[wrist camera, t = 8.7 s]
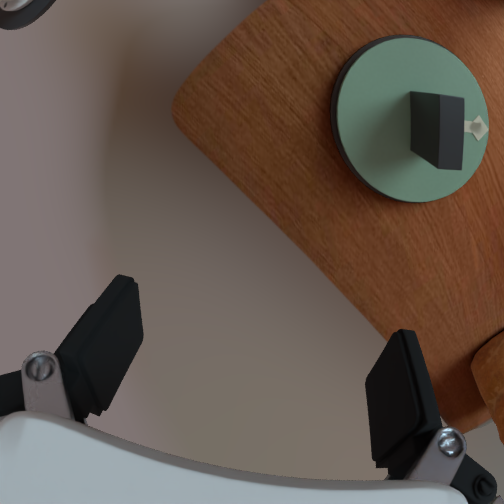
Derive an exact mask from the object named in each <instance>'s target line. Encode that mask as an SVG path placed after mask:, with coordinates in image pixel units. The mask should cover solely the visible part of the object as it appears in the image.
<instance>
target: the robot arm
mask: <svg viewBox="0 0 504 504" xmlns="http://www.w3.org/2000/svg"><path fill="white" fill-rule="evenodd" d="M32 1H33V0H0V7H1V8H2V9H3V10H5V11H17V10H20V9H22V8H24V7H25V6H27V5H28V4H29V3H31V2H32ZM142 341H143V326H142V318H141V310H140V301H139V290H138V284H137V283H135V282H134V279H133V278H132V277H128V276H124V275H120V274H119V275H117V276H116V277H115V278H114V279H113V281H112V282H111V283H110V284H109V286H108V287H107V288H106V289H105V291H104V292H103V293H102V294H101V296H100V297H99V298H98V299H97V301H96V302H95V303H94V304H92V305H90V306H89V307H88V308H87V310H86V311H85V312H84V314H83V315H82V316H81V318H80V319H79V320H78V321H77V323H76V324H75V325H74V327H73V328H72V329H71V331H70V332H69V333H68V335H67V336H66V338H65V339H64V340H63V342H62V343H61V344H60V346H59V347H58V349H57V350H56V351H55V353H54V354H52V353H51V352H48V351H37V352H34V353H32V354H31V355H29V356H28V357H27V358H26V359H25V360H24V362H23V364H22V369H21V370H19V371H15V372H11V373H8V374H4V375H0V504H504V501H503V499H502V498H501V496H500V495H499V496H498V497H496V493H497V483H496V480H495V478H494V477H493V476H492V475H491V474H490V473H489V472H488V471H487V470H485V469H484V468H483V467H482V466H480V465H479V464H478V463H477V462H475V461H474V460H473V459H472V458H470V457H469V456H468V455H467V454H466V449H467V445H466V440H465V437H464V436H463V434H462V433H461V432H460V431H459V430H458V429H456V428H454V427H449V426H447V427H442V423H441V418H440V414H439V410H438V406H437V402H436V398H435V394H434V391H433V387H432V384H431V380H430V377H429V373H428V370H427V367H426V364H425V361H424V357H423V354H422V351H421V348H420V345H419V342H418V339H417V336H416V333H415V331H412V330H405V329H399V330H398V331H397V332H394V333H393V334H392V336H391V338H390V339H389V341H388V343H387V345H386V347H385V348H384V350H383V352H382V353H381V355H380V357H379V358H378V360H377V362H376V363H375V365H374V367H373V368H372V370H371V371H370V373H369V374H368V376H367V378H366V382H365V388H366V397H367V406H368V416H369V426H370V437H371V452H372V459H373V461H376V468H388V475H387V477H386V478H385V479H384V480H382V481H381V480H380V481H379V480H377V481H376V480H375V481H356V480H355V481H353V480H351V481H350V480H347V481H345V480H321V479H320V480H319V479H306V478H294V477H283V476H276V475H268V474H261V473H254V472H248V471H242V470H236V469H231V468H226V467H221V466H216V465H211V464H207V463H202V462H198V461H194V460H190V459H186V458H182V457H179V456H175V455H171V454H168V453H164V452H161V451H158V450H155V449H151V448H148V447H145V446H142V445H139V444H136V443H133V442H130V441H127V440H124V439H122V438H119V437H116V436H113V435H111V434H108V433H105V432H103V431H100V430H98V429H95V428H93V427H90V426H88V424H87V421H86V418H87V417H88V415H89V413H92V414H95V415H97V416H100V415H101V413H102V411H103V410H104V411H106V410H107V409H108V408H109V406H110V404H111V402H112V400H113V397H114V396H115V394H116V392H117V389H118V388H119V386H120V384H121V382H122V380H123V378H124V376H125V374H126V372H127V370H128V368H129V366H130V364H131V362H132V360H133V359H134V357H135V355H136V353H137V351H138V349H139V347H140V345H141V344H142Z"/></svg>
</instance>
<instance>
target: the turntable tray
mask: <svg viewBox="0 0 504 504" xmlns="http://www.w3.org/2000/svg"><path fill="white" fill-rule="evenodd" d="M336 119H337V127H338V132H339V136H340V140H341V143H342V145H343V148H344V151H345V153H346V154H347V156H348V158H349V160H350V162H351V163H352V165H353V166H354V168H355V169H356V170H357V172H358V173H359V174H360V175H361V176H362V177H363V178H364V179H365V180H366V181H367V182H368V183H369V184H370V185H371V186H373V187H374V188H376V189H377V190H379V191H380V192H382V193H384V194H386V195H388V196H390V197H393V198H396V199H399V200H403V201H408V202H428V201H433V200H437V199H440V198H443V197H445V196H447V195H449V194H451V193H453V192H454V191H456V190H457V189H459V188H460V187H461V186H463V185H464V184H465V183H466V182H467V181H468V180H469V179H470V177H471V176H472V175H473V174H474V172H475V171H476V169H477V168H478V166H479V164H480V162H481V160H482V158H483V155H484V152H485V149H486V145H487V140H488V130H489V124H488V113H487V107H486V103H485V99H484V97H483V94H482V91H481V89H480V87H479V85H478V83H477V81H476V79H475V78H474V76H473V75H472V73H471V72H470V71H469V69H468V68H467V67H466V66H465V65H464V64H463V63H462V62H461V61H460V60H459V59H458V58H457V57H456V56H455V55H453V54H452V53H450V52H449V51H448V50H446V49H444V48H442V47H441V46H439V45H437V44H434V43H431V42H428V41H425V40H420V39H414V38H399V39H393V40H389V41H385V42H382V43H380V44H378V45H375V46H374V47H372V48H370V49H369V50H367V51H366V52H364V53H363V54H362V55H361V56H360V57H359V58H358V59H357V60H356V61H355V62H354V63H353V64H352V66H351V67H350V69H349V70H348V72H347V73H346V75H345V77H344V79H343V82H342V84H341V87H340V91H339V94H338V100H337V108H336Z"/></svg>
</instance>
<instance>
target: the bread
mask: <svg viewBox="0 0 504 504" xmlns="http://www.w3.org/2000/svg"><path fill="white" fill-rule="evenodd" d="M471 370H472V373H473V376H474V378H475V381H476V384H477V386H478V389H479V392H480V394H481V396H482V398H483V400H484V402H485V404H486V406H487V407H488V410H489V412H490V414H491V417H492V419H493V421H494V423H495V424H496V426H497V429H498V432H499V436H500V440H501V442H502V443H503V444H504V331H503V332H501V333H500V334H498V335H497V336H495V337H494V338H492V339H491V340H490V341H489V342H488V343H487V344H486V345H484V346H483V347H482V348H480V349H479V351H478V352H477V353H476V354H475V356H474V358H473V361H472V363H471Z"/></svg>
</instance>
